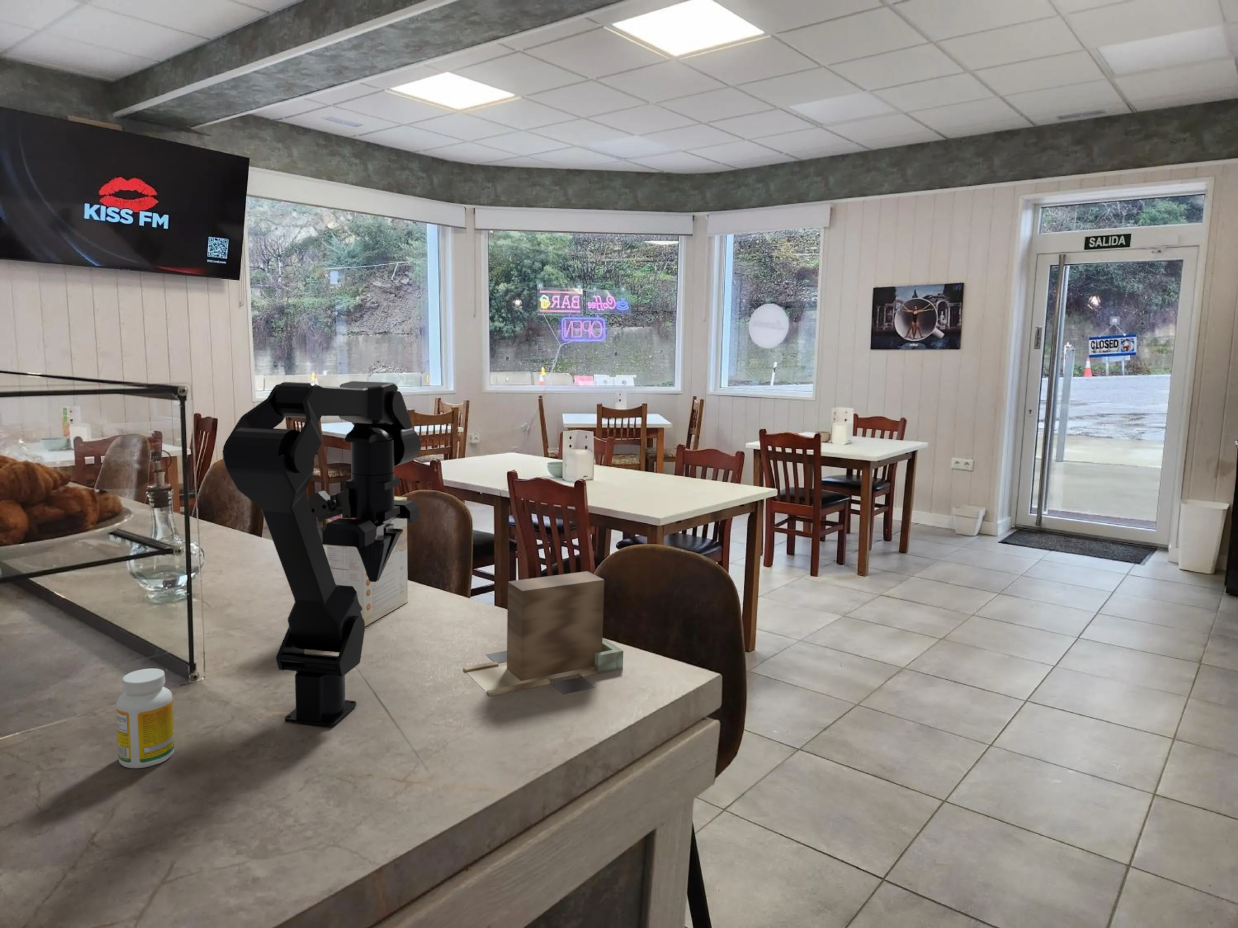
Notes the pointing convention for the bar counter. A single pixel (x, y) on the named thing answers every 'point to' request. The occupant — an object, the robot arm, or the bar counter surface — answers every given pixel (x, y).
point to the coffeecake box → (351, 572)
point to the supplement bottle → (144, 719)
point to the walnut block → (554, 624)
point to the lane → (505, 681)
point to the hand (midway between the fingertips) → (374, 581)
